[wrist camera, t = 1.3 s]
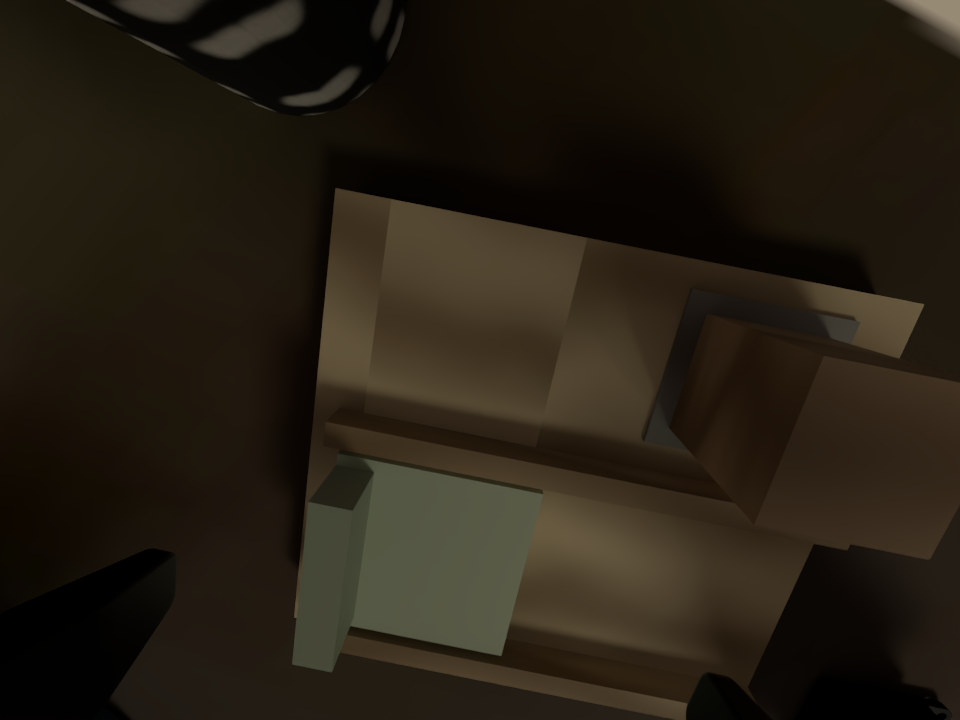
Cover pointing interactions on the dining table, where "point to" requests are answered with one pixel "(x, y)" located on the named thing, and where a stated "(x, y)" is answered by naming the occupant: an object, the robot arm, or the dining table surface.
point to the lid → (410, 557)
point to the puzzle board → (568, 436)
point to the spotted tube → (269, 44)
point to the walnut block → (824, 435)
